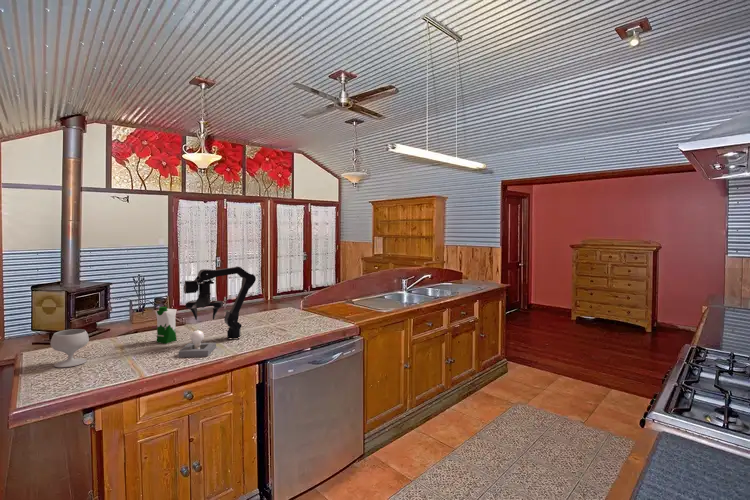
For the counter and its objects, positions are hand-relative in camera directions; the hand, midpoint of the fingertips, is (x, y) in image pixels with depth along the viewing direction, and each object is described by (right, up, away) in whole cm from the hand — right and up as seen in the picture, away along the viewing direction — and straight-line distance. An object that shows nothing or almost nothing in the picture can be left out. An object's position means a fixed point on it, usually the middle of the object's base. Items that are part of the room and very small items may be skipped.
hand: (204, 319), depth 214 cm
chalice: (-47, -14, -35) cm, 61 cm away
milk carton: (-22, -13, +2) cm, 26 cm away
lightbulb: (+4, -14, -17) cm, 22 cm away
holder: (+4, -14, -17) cm, 22 cm away
